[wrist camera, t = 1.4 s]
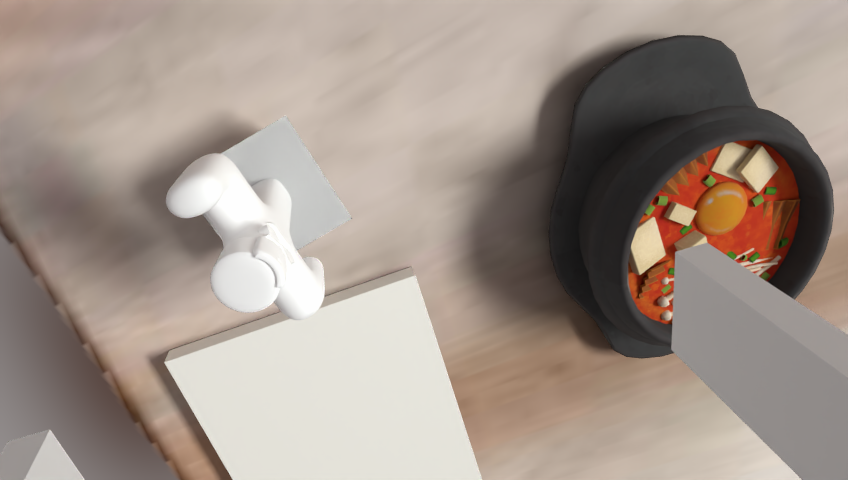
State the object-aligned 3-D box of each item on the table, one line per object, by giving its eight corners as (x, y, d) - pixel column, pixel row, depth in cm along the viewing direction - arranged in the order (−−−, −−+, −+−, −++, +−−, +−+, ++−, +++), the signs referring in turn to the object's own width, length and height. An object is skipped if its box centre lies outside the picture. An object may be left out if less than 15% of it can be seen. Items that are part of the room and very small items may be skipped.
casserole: (766, 303, 48) (852, 356, 41) (567, 374, 47) (617, 444, 39) (760, -1, 38) (874, -5, 31) (506, 80, 37) (558, 97, 29)
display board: (481, 479, 49) (486, 492, 48) (285, 553, 48) (284, 569, 47) (411, 266, 40) (415, 275, 39) (169, 350, 39) (164, 362, 38)
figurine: (265, 266, 38) (242, 405, 25) (176, 149, 34) (90, 236, 21) (356, 213, 38) (383, 323, 24) (277, 90, 34) (258, 138, 21)
